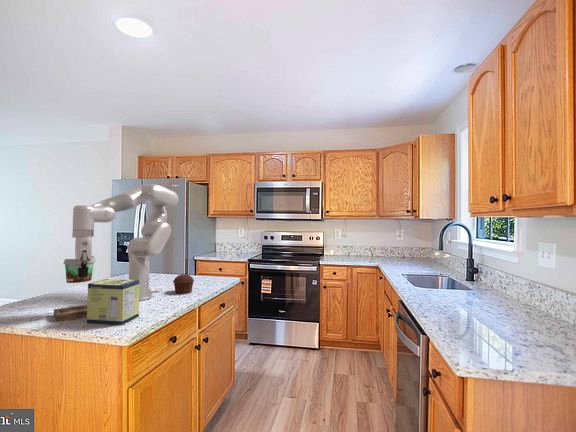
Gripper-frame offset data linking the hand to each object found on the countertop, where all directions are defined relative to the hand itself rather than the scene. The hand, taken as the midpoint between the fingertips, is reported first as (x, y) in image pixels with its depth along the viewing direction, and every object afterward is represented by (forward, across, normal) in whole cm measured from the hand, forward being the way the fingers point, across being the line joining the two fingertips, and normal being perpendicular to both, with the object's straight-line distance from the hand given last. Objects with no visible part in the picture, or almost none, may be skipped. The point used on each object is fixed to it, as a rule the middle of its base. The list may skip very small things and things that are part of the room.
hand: (81, 275), depth 122 cm
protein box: (+17, -16, -9) cm, 25 cm away
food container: (+3, -1, 0) cm, 3 cm away
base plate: (+17, 0, 0) cm, 17 cm away
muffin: (+17, +10, -49) cm, 53 cm away
